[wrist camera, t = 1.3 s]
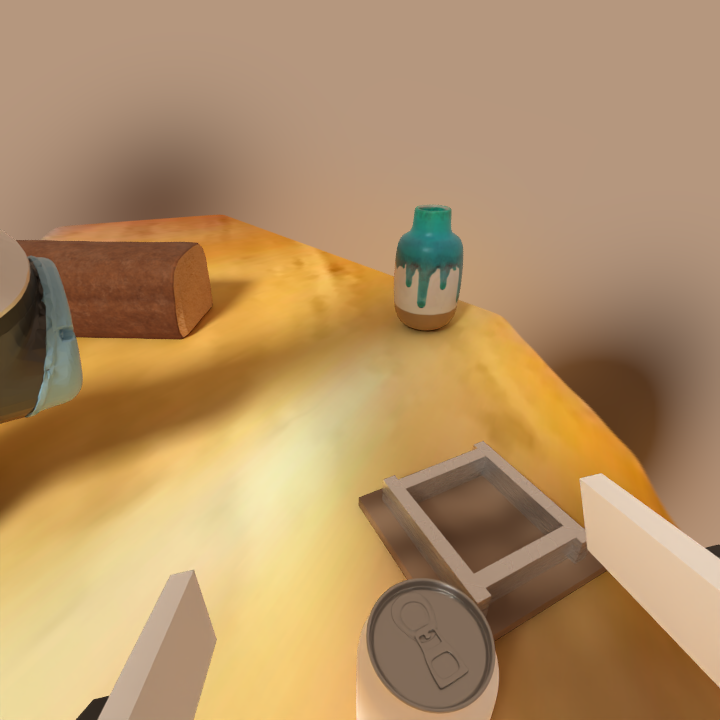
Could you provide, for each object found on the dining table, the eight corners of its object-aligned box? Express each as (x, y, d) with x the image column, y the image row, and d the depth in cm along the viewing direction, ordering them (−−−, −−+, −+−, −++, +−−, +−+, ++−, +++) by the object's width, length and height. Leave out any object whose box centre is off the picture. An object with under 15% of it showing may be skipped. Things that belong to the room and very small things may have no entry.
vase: (428, 346, 68) (440, 219, 59) (379, 324, 75) (382, 207, 65) (468, 326, 75) (484, 208, 65) (419, 307, 81) (427, 198, 72)
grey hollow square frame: (382, 499, 40) (383, 479, 39) (479, 460, 45) (483, 441, 44) (472, 624, 31) (477, 603, 29) (585, 557, 35) (593, 536, 34)
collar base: (358, 505, 41) (358, 497, 41) (483, 454, 47) (485, 447, 47) (461, 661, 30) (463, 654, 29) (609, 568, 36) (613, 560, 35)
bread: (14, 301, 84) (-15, 230, 77) (216, 305, 83) (204, 233, 76) (-55, 339, 71) (-98, 256, 64) (185, 344, 69) (166, 260, 63)
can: (427, 668, 29) (445, 550, 23) (494, 784, 24) (540, 672, 18) (337, 722, 27) (332, 605, 21) (393, 865, 22) (407, 764, 16)
